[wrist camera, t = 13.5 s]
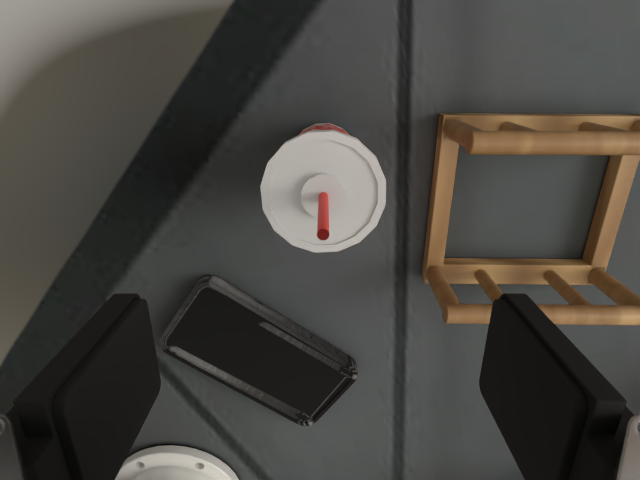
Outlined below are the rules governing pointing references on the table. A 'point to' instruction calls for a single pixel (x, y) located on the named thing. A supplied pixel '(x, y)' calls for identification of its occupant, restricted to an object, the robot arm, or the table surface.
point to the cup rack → (535, 139)
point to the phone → (257, 352)
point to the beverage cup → (323, 190)
